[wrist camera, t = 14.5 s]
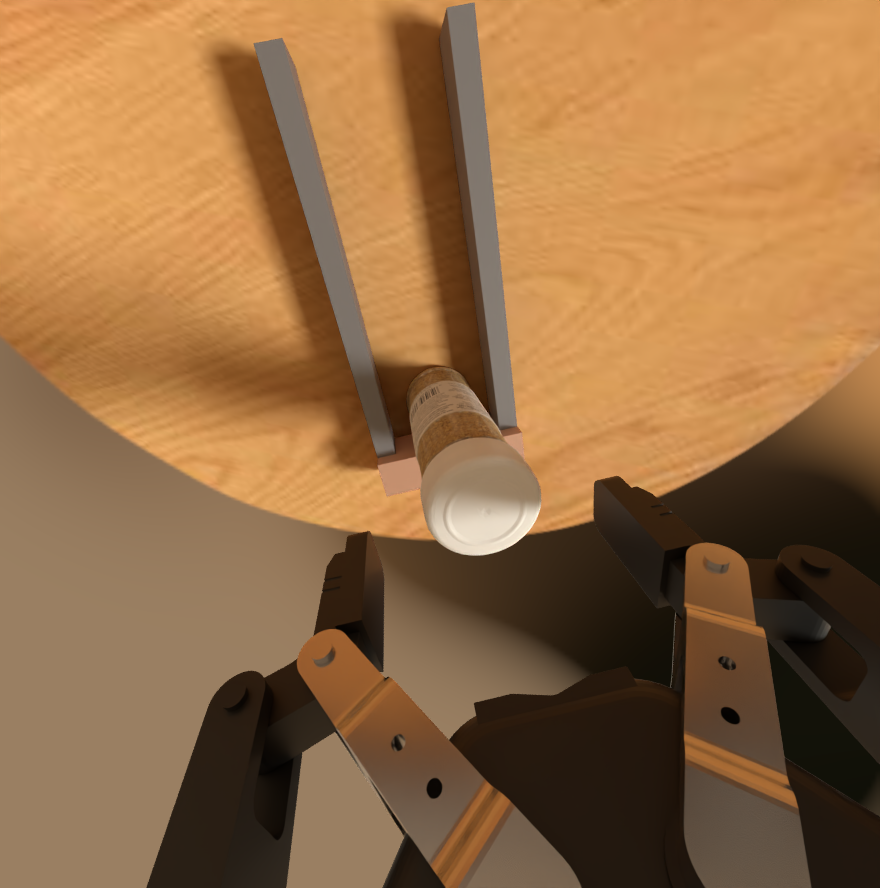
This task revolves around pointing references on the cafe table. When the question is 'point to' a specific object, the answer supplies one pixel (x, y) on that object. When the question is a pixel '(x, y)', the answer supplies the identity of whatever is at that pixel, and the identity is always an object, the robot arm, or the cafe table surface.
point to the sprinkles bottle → (467, 468)
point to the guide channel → (479, 225)
